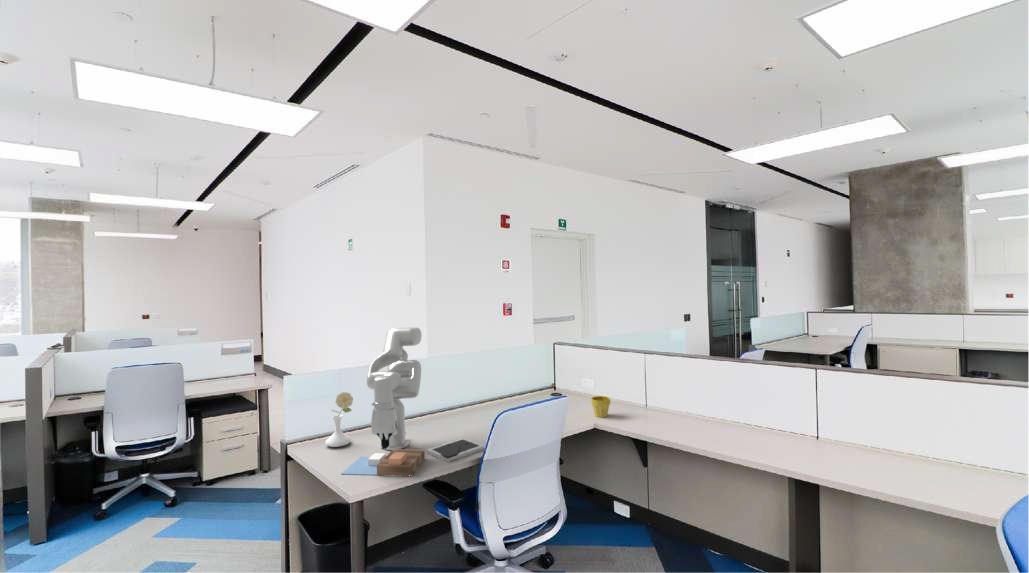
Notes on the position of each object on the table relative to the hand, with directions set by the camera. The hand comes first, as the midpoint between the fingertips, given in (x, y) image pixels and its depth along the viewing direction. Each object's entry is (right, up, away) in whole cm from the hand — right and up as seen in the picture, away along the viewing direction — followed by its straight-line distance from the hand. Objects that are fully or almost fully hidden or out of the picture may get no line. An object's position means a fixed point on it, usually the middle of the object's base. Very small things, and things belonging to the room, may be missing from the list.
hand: (385, 447), depth 205 cm
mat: (-6, -6, -4) cm, 10 cm away
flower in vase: (-28, -6, +23) cm, 36 cm away
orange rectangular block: (+8, -1, -10) cm, 13 cm away
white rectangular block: (-3, -5, -1) cm, 6 cm away
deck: (+8, -6, -6) cm, 12 cm away
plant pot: (+103, -3, +60) cm, 119 cm away
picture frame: (+29, -6, +11) cm, 31 cm away
